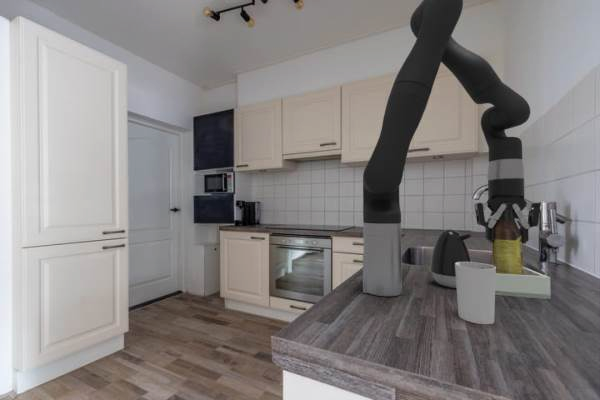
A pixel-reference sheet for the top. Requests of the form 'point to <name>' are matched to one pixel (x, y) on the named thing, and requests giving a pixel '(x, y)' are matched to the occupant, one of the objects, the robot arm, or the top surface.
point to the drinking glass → (476, 291)
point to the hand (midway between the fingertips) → (506, 242)
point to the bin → (523, 285)
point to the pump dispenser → (448, 256)
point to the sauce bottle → (507, 244)
